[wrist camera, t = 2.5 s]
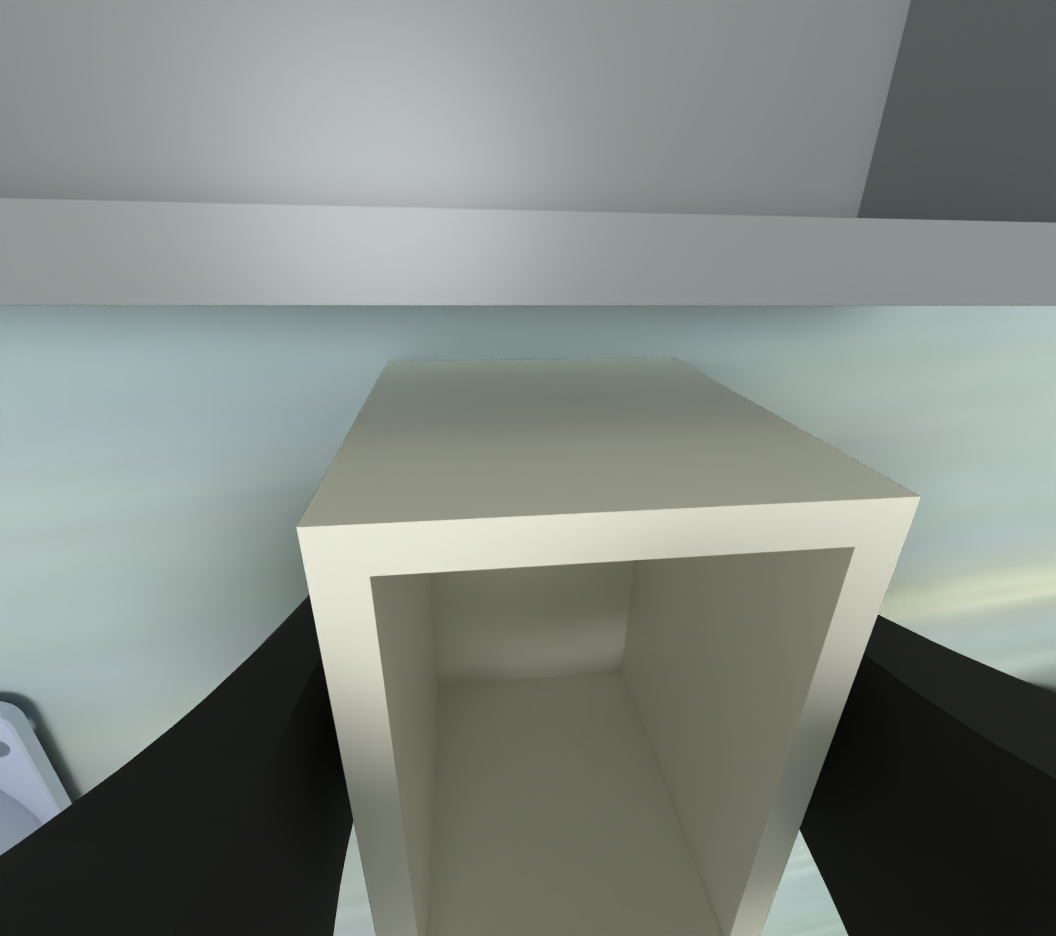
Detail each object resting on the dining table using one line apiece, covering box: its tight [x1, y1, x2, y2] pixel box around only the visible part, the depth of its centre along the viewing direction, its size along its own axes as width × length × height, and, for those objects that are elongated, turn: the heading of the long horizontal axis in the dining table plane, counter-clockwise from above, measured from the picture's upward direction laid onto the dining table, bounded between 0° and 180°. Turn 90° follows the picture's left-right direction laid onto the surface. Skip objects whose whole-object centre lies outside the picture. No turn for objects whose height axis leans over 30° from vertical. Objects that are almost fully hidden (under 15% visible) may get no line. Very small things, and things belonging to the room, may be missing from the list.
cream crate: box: [296, 358, 921, 936], centre depth 9 cm, size 8×5×6 cm
